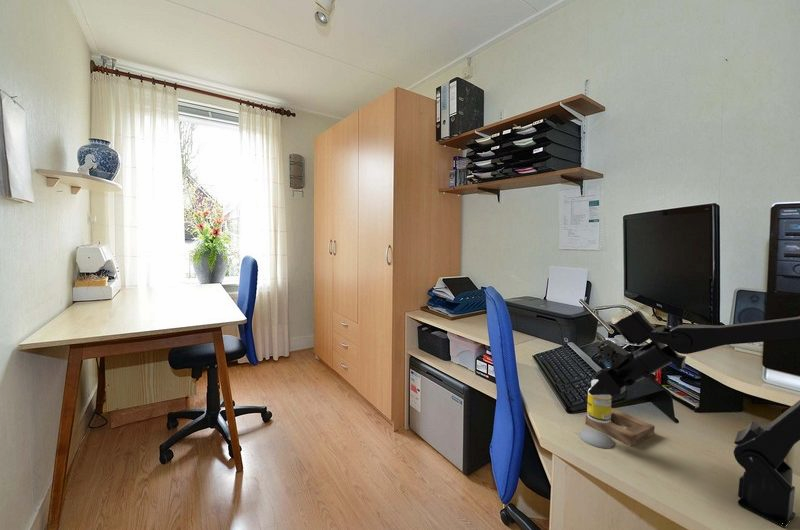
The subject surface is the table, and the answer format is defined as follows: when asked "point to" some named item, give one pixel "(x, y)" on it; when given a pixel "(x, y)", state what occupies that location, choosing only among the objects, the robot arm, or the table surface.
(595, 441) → the grey oval disc
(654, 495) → the table surface
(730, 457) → the table surface
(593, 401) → the supplement bottle
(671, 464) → the table surface
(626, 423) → the holder block
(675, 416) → the table surface
